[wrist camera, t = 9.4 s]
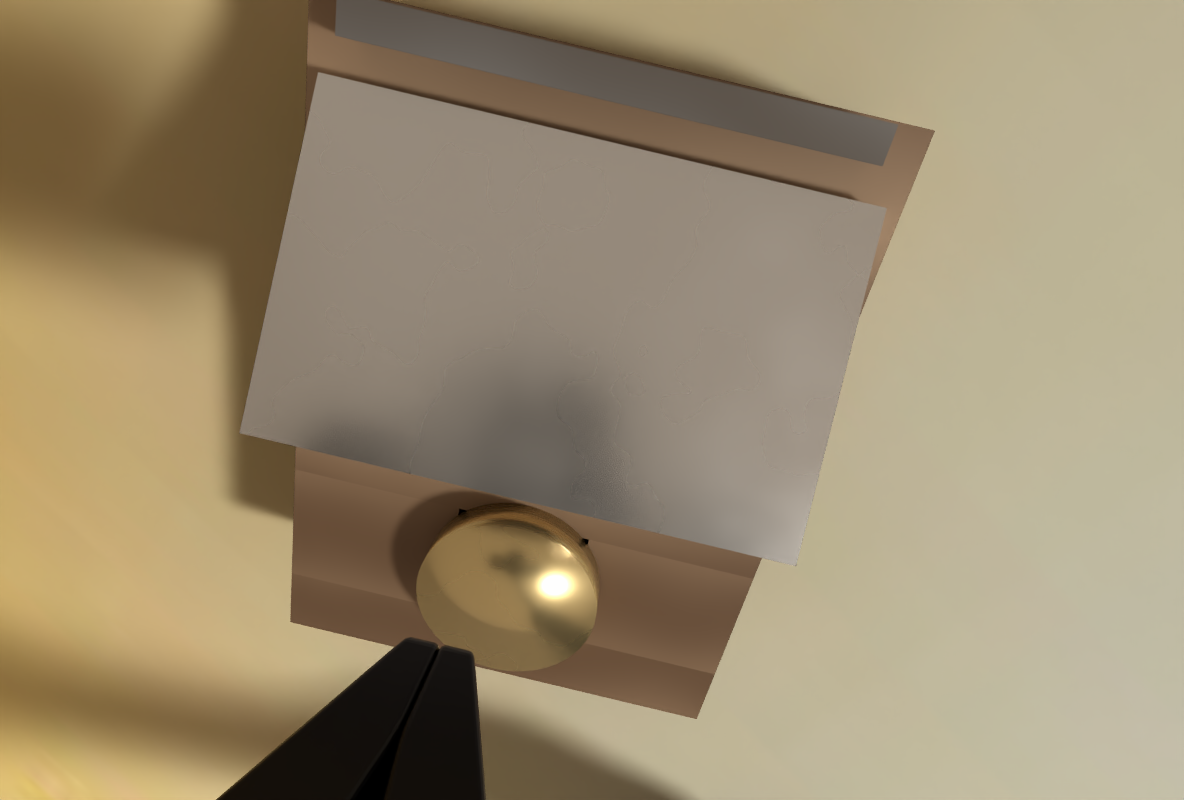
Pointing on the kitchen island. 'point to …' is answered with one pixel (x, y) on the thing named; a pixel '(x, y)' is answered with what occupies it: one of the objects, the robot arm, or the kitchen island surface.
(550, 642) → the gold metal dome
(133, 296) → the kitchen island surface
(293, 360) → the steel flap
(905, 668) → the kitchen island surface
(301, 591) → the brown box
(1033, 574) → the kitchen island surface
